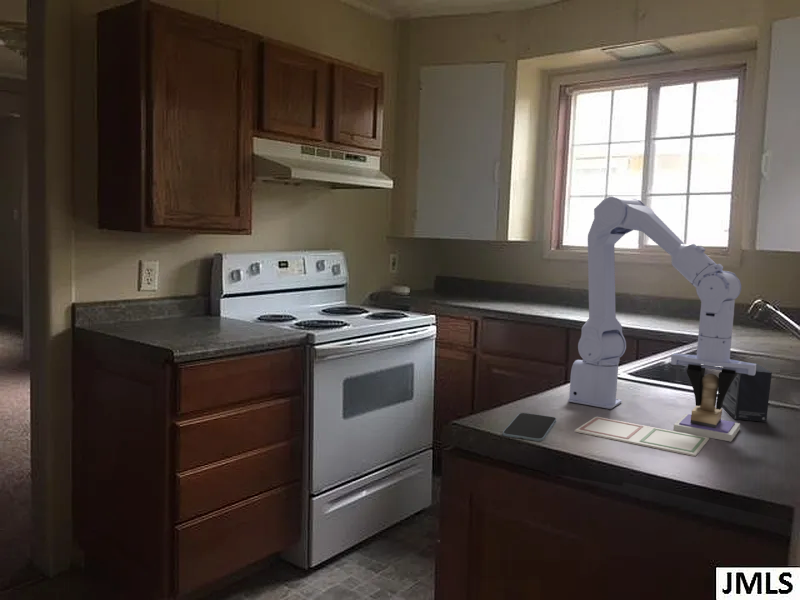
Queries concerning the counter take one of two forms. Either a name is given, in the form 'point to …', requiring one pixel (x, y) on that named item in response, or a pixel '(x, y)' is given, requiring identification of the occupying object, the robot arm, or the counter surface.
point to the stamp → (707, 403)
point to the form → (644, 435)
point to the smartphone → (530, 426)
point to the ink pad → (708, 429)
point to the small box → (749, 395)
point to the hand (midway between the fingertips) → (708, 406)
